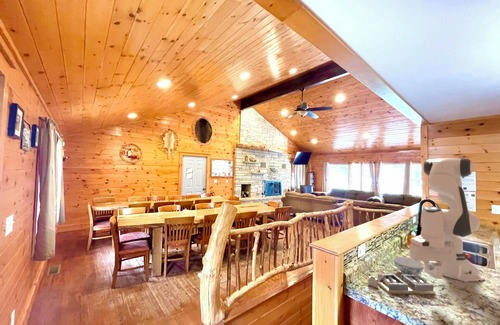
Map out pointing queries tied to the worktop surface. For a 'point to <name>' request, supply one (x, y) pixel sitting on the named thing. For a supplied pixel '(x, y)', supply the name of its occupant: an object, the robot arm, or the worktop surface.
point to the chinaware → (408, 265)
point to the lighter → (375, 280)
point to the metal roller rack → (405, 284)
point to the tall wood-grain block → (434, 270)
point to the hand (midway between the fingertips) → (432, 269)
